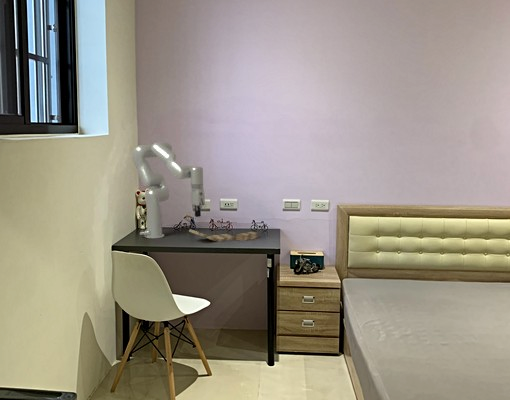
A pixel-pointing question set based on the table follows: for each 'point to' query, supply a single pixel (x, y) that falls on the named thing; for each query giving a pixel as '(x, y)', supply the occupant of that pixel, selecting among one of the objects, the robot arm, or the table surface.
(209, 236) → the plank
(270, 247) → the table surface
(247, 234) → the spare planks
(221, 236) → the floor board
